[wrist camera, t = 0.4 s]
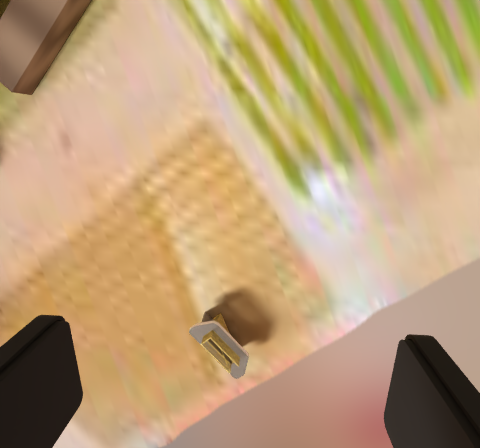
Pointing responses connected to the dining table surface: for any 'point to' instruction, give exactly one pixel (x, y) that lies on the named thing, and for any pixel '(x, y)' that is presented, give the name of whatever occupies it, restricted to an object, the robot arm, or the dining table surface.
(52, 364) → the robot arm
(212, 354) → the succulent
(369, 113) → the dining table surface
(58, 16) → the socket holder
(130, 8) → the dining table surface
